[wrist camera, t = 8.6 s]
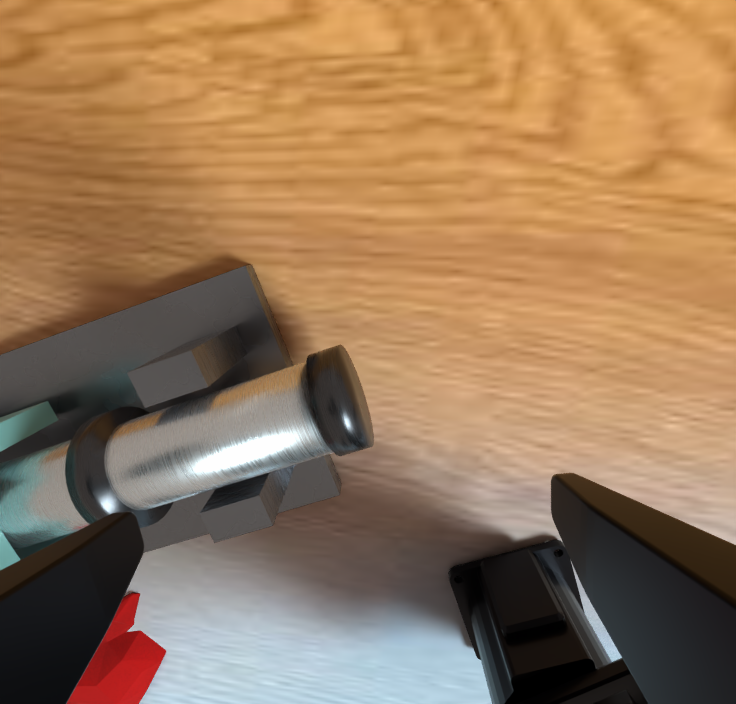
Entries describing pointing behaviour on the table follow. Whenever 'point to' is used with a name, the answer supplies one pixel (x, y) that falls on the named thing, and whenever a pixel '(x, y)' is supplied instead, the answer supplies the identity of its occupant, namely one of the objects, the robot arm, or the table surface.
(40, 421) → the bracket
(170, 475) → the shaft
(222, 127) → the table surface
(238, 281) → the bearing stand
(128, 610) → the cloth
